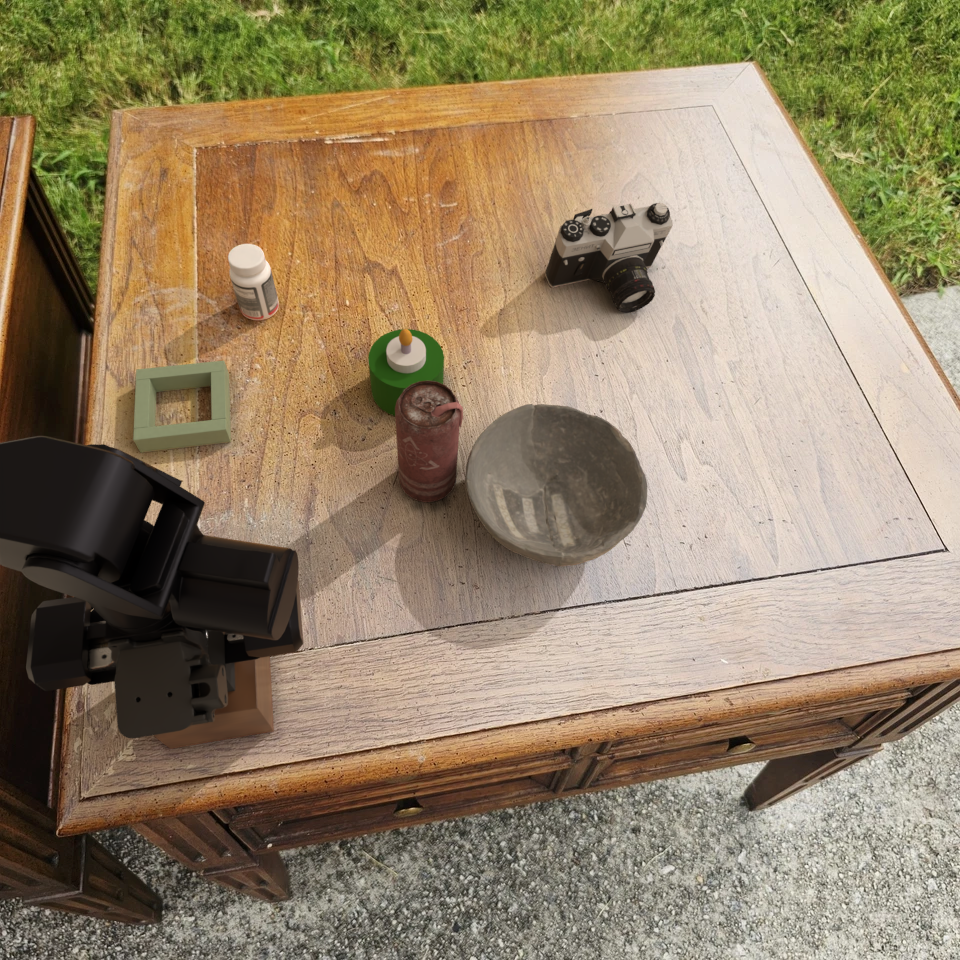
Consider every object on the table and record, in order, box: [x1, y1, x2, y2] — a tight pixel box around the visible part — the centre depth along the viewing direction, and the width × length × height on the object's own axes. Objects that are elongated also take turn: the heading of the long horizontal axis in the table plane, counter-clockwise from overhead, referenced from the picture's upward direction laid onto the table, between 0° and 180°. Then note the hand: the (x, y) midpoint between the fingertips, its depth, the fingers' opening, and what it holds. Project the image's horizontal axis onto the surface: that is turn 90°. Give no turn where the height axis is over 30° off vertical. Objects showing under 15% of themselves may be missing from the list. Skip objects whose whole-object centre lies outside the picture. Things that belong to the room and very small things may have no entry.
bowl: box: [464, 403, 648, 568], centre depth 80 cm, size 18×18×8 cm
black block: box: [207, 630, 235, 692], centre depth 64 cm, size 6×6×4 cm
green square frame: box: [132, 360, 232, 454], centre depth 87 cm, size 10×10×2 cm
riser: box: [152, 656, 275, 750], centre depth 69 cm, size 9×9×8 cm
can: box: [394, 380, 464, 503], centre depth 79 cm, size 6×6×14 cm
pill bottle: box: [227, 243, 280, 321], centre depth 93 cm, size 5×5×8 cm
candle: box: [367, 328, 445, 417], centre depth 87 cm, size 8×8×10 cm
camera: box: [544, 202, 674, 314], centre depth 97 cm, size 15×11×10 cm
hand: (198, 662), depth 65 cm, fingers closed on black block, 5 cm apart
